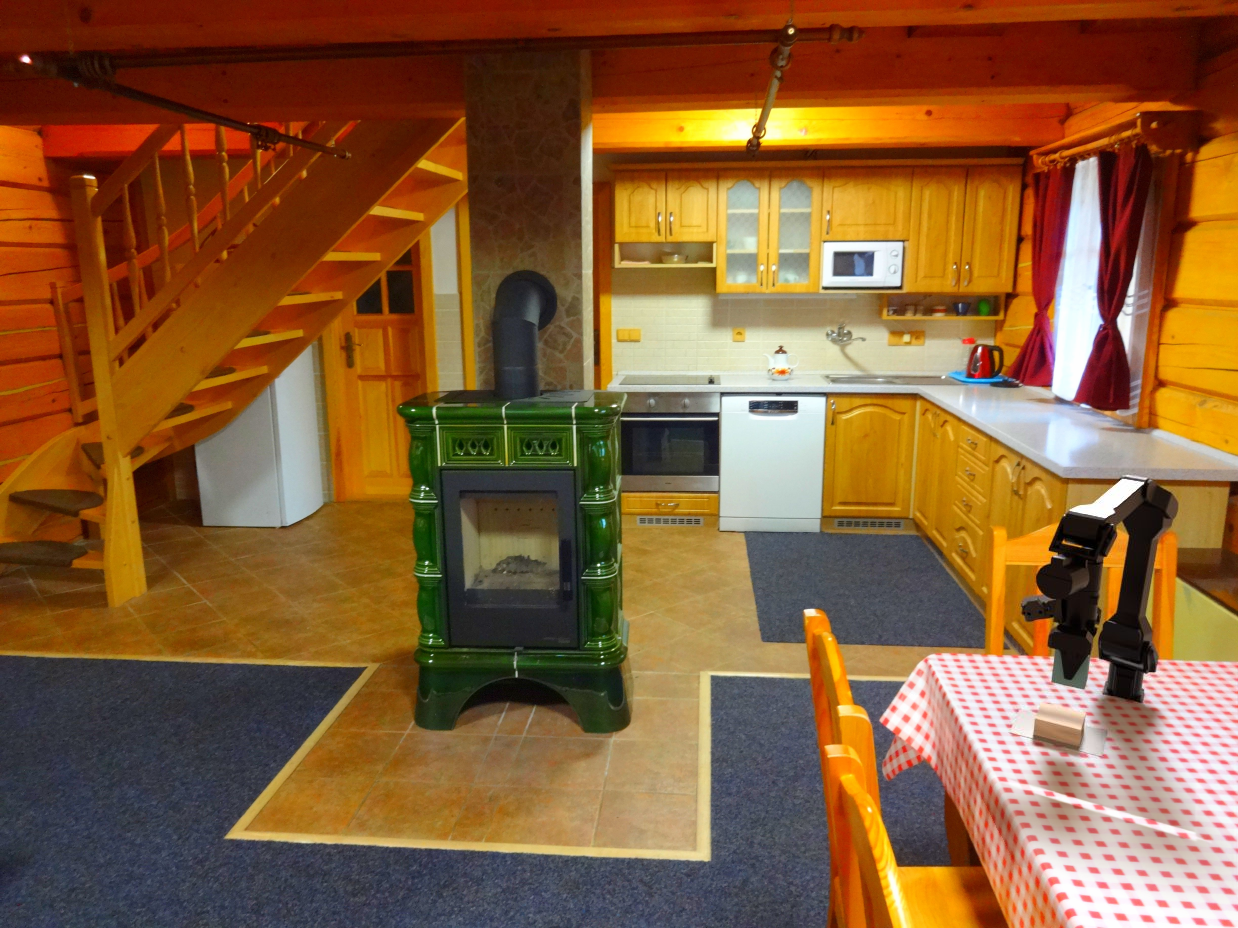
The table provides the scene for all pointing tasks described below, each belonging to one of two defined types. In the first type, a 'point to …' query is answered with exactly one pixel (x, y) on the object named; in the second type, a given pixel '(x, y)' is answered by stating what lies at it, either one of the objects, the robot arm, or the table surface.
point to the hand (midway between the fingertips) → (1069, 673)
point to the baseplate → (1089, 742)
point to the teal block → (1078, 679)
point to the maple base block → (1059, 723)
